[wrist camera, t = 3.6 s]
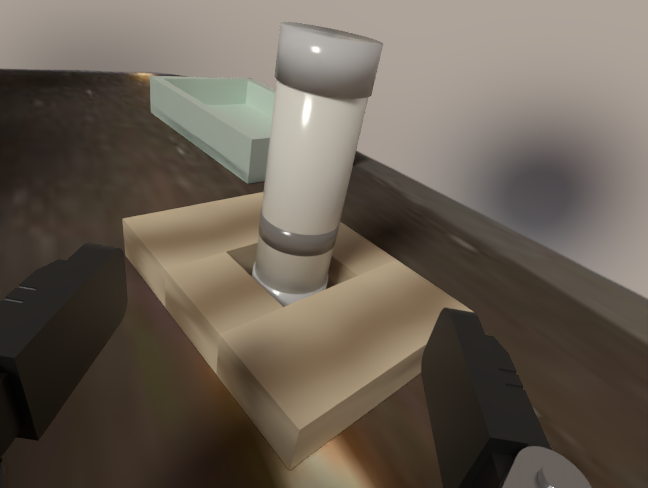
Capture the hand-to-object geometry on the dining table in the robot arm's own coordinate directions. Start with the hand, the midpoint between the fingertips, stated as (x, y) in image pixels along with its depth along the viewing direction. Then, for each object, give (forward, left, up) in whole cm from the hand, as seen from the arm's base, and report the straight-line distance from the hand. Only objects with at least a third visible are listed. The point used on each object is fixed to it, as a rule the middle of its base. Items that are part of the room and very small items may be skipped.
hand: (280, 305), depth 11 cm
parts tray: (-32, +20, -8) cm, 39 cm away
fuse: (-8, +7, -8) cm, 14 cm away
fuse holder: (-8, +7, -8) cm, 14 cm away
